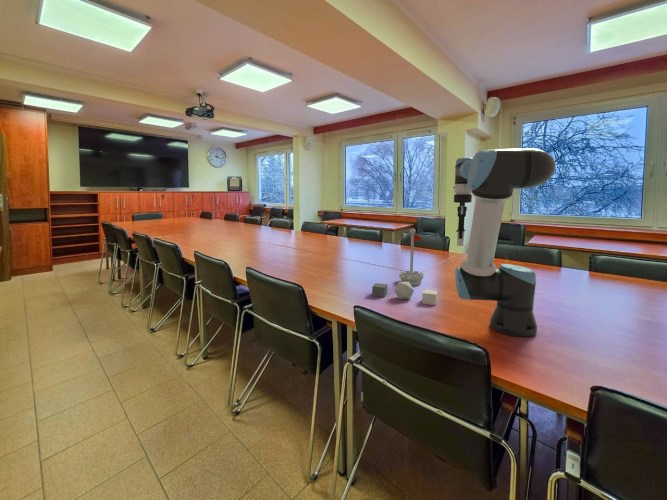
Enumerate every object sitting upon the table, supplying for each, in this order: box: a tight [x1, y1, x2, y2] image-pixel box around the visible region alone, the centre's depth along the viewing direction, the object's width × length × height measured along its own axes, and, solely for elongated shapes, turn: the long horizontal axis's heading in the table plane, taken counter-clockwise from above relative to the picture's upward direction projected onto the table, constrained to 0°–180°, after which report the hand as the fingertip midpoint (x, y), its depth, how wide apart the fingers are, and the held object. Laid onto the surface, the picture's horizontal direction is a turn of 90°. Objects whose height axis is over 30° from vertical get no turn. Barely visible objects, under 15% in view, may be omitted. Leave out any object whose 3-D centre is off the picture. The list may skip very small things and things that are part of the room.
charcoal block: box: [371, 282, 388, 298], centre depth 163 cm, size 6×6×5 cm
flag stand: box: [398, 228, 425, 286], centre depth 182 cm, size 13×13×30 cm
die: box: [394, 281, 415, 300], centre depth 157 cm, size 8×9×10 cm
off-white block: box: [421, 288, 439, 306], centre depth 151 cm, size 6×6×5 cm
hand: (460, 245), depth 153 cm, fingers closed
